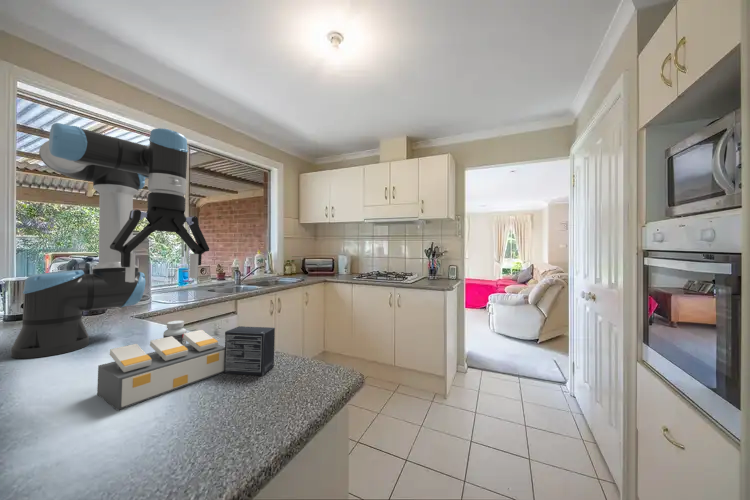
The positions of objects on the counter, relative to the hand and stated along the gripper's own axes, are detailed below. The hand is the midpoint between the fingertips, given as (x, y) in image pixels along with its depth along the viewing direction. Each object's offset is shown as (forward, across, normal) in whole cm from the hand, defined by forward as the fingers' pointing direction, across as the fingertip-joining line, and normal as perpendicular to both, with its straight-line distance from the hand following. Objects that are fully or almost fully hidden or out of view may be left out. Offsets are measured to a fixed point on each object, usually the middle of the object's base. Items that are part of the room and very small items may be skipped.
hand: (164, 279), depth 69 cm
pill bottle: (+23, +7, +10) cm, 26 cm away
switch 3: (+15, +6, -7) cm, 17 cm away
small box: (+23, +13, -16) cm, 31 cm away
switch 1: (+15, -8, -6) cm, 18 cm away
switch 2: (+15, -1, -6) cm, 16 cm away
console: (+23, -1, -7) cm, 24 cm away
